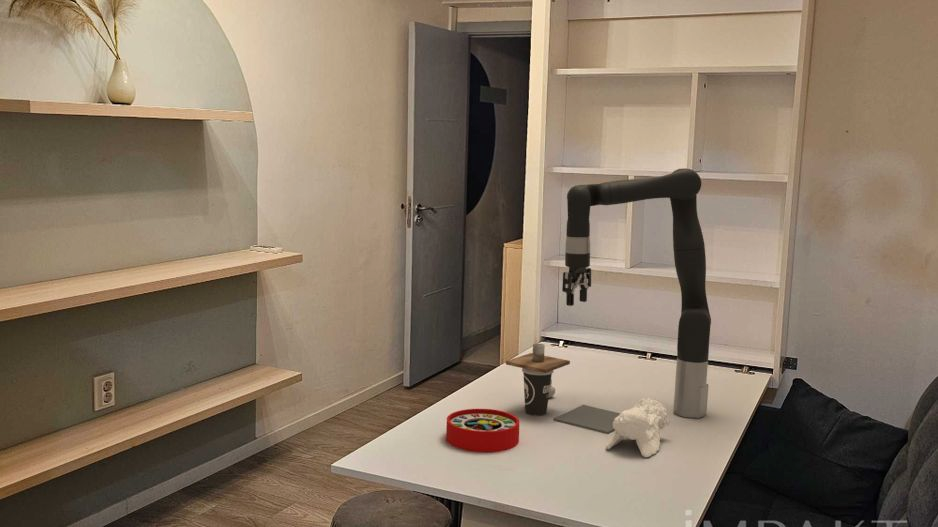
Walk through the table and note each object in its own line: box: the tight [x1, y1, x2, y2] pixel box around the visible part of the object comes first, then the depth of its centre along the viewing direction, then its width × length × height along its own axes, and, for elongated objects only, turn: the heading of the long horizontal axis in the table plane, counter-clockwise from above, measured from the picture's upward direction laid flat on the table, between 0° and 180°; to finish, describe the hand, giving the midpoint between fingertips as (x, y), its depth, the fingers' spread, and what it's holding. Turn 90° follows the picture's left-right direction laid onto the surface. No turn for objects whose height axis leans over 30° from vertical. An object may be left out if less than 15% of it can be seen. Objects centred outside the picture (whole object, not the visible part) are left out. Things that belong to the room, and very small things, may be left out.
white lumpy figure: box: [605, 397, 670, 459], centre depth 237 cm, size 13×12×20 cm
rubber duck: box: [548, 379, 556, 399], centre depth 280 cm, size 5×7×8 cm
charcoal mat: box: [552, 404, 622, 435], centre depth 259 cm, size 18×18×1 cm
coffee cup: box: [521, 368, 554, 417], centre depth 263 cm, size 10×10×15 cm
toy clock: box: [445, 408, 521, 453], centre depth 238 cm, size 20×6×20 cm
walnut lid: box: [505, 342, 571, 373], centre depth 262 cm, size 14×14×6 cm
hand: (576, 303), depth 267 cm, fingers open, 8 cm apart
